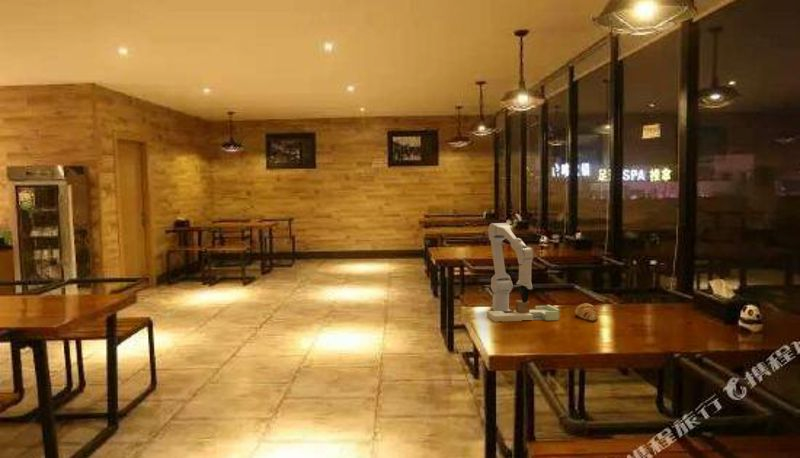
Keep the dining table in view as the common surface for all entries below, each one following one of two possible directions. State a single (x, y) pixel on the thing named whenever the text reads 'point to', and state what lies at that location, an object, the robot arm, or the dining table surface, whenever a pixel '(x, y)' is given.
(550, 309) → the board
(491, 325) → the dining table surface
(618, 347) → the dining table surface
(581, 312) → the croissant
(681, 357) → the dining table surface
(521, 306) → the walnut block
